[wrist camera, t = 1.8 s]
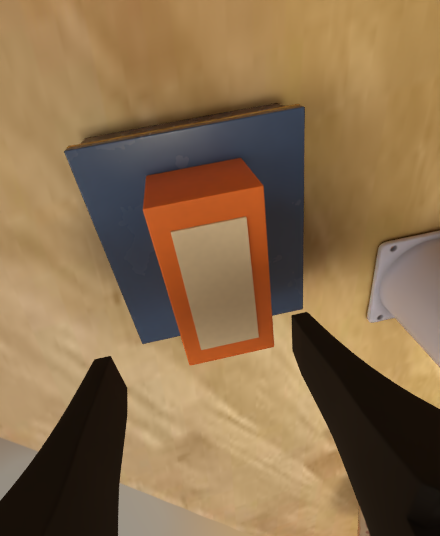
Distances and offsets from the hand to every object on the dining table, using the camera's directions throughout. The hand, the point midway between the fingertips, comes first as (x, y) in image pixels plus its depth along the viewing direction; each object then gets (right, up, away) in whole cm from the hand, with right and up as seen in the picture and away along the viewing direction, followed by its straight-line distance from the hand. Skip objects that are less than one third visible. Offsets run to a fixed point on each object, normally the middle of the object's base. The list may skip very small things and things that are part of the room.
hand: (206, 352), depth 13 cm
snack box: (0, +5, +5) cm, 7 cm away
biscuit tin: (-1, +6, +8) cm, 10 cm away
